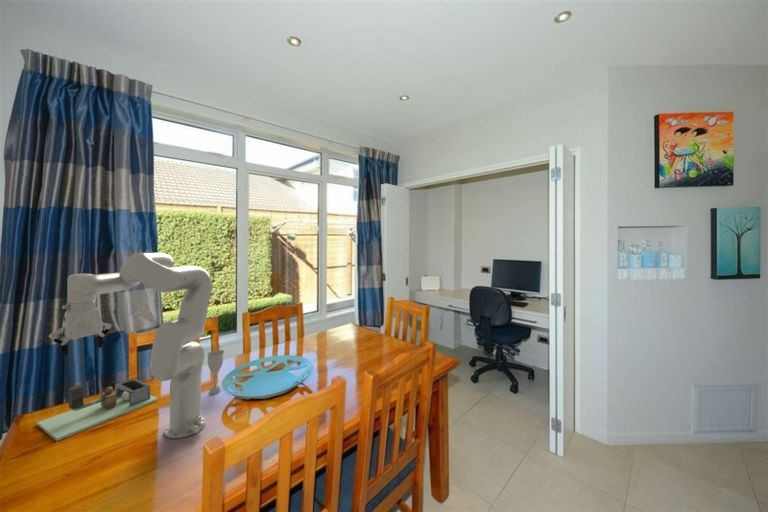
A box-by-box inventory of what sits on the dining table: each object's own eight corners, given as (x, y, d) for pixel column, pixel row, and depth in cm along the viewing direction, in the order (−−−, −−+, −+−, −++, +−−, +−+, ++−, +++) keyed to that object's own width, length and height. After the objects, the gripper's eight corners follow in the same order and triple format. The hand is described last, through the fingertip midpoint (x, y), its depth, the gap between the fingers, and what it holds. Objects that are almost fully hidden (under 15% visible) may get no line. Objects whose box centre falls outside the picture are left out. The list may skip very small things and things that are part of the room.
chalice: (215, 396, 131) (215, 356, 131) (202, 394, 133) (202, 354, 132) (227, 388, 139) (227, 350, 138) (214, 386, 140) (215, 349, 139)
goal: (150, 400, 126) (150, 384, 126) (130, 408, 120) (130, 391, 120) (134, 392, 132) (134, 377, 132) (114, 399, 126) (115, 383, 125)
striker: (116, 405, 119) (116, 377, 118) (73, 421, 108) (73, 391, 107) (110, 402, 121) (110, 374, 121) (67, 417, 110) (67, 387, 109)
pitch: (157, 400, 126) (157, 398, 126) (56, 441, 99) (56, 438, 99) (135, 389, 134) (135, 387, 134) (37, 424, 108) (37, 422, 107)
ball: (134, 389, 125) (123, 395, 121) (137, 397, 126) (126, 403, 122) (129, 386, 126) (118, 392, 123) (132, 394, 127) (121, 401, 124)
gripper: (53, 311, 102) (54, 360, 103) (115, 303, 118) (115, 345, 119) (44, 309, 106) (45, 356, 106) (106, 301, 121) (106, 342, 122)
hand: (82, 350), depth 112 cm, fingers open, 9 cm apart
